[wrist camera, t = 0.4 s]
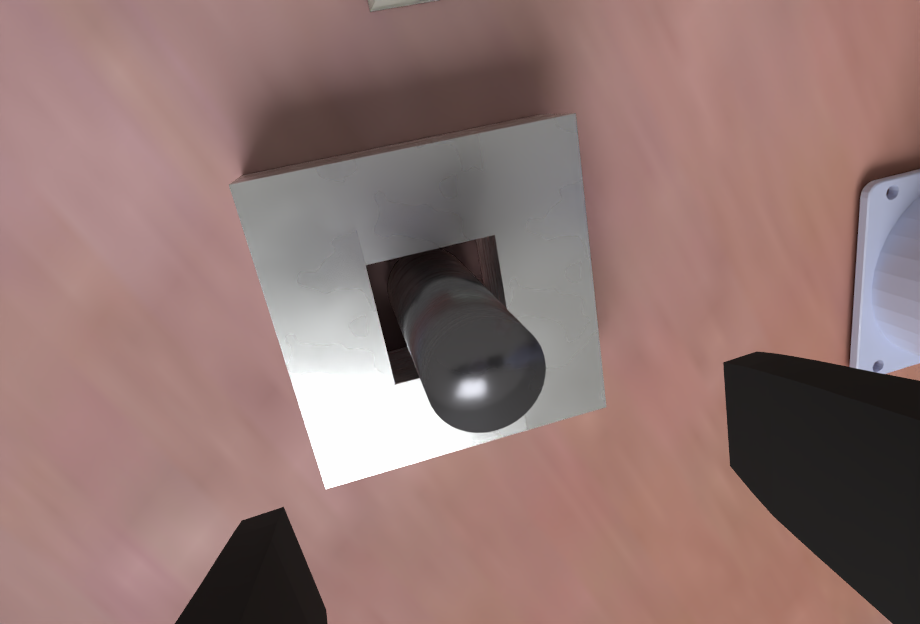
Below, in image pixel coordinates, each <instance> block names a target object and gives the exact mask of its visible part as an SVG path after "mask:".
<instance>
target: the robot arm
mask: <svg viewBox="0 0 920 624" xmlns="http://www.w3.org/2000/svg"><path fill="white" fill-rule="evenodd" d="M888 189H889V191H888V194H887V195H886V193H887V190H888ZM919 363H920V169H918V170H914V171H910V172H906V173H902V174H897V175H893V176H889V177H885V178H881V179H877V180H873V181H871V182H869V183H868V184H867V185H866V186H865V187H864V188H863V190H862V192H861V196H860V211H859V227H858V242H857V258H856V274H855V289H854V305H853V321H852V336H851V352H850V367H846V366H841V365H836V364H831V363H826V362H821V361H816V360H810V359H805V358H799V357H794V356H788V355H781V354H774V353H765V352H754V353H751V354H748V355H745V356H742V357H739V358H736V359H733V360H730V361H727V362H724V363H723V364H724V379H725V394H726V410H727V425H728V440H729V455H730V466H731V467H732V469H733V470H734V471H735V472H736V473H737V475H738V476H739V477H740V478H741V479H742V481H743V482H744V483H745V484H746V485H747V487H748V488H749V489H750V490H751V491H752V493H753V494H754V495H755V496H756V497H757V498H758V499H759V501H760V502H761V503H762V504H763V505H764V506H765V507H766V508H767V509H768V511H769V512H770V513H771V514H772V515H773V516H774V517H775V518H776V519H777V520H778V521H779V522H780V523H781V524H783V525H784V526H785V527H786V528H787V529H788V530H789V531H790V532H791V533H792V534H793V535H794V536H796V537H797V538H798V539H799V540H800V541H801V542H802V543H803V544H804V545H805V546H807V547H808V548H809V549H810V550H811V551H812V552H813V553H814V554H815V555H816V556H818V557H819V558H820V559H821V560H822V561H823V562H824V563H825V564H827V565H828V566H829V567H830V568H831V569H832V570H833V571H834V572H836V573H837V574H838V575H839V576H840V577H841V578H842V579H843V580H844V581H846V582H847V583H848V584H849V585H850V586H851V587H852V588H853V589H855V590H856V591H857V592H858V593H859V594H860V595H861V596H862V597H864V598H865V599H866V600H867V601H868V602H869V603H870V604H871V605H872V606H874V607H875V608H876V609H877V610H878V611H879V612H880V613H881V614H883V615H884V616H885V617H886V618H887V619H888V620H889V621H890V622H892V623H893V624H920V381H918V380H912V379H907V378H902V377H897V376H892V375H887V374H886V373H889V372H893V371H896V370H899V369H902V368H906V367H909V366H912V365H915V364H919ZM175 624H327V614H326V608H325V606H324V604H323V601H322V599H321V596H320V594H319V591H318V589H317V587H316V584H315V582H314V579H313V577H312V574H311V572H310V570H309V567H308V565H307V562H306V560H305V557H304V555H303V553H302V550H301V548H300V545H299V543H298V541H297V538H296V536H295V533H294V531H293V528H292V526H291V524H290V521H289V519H288V516H287V514H286V511H285V509H284V507H282V508H279V509H276V510H273V511H270V512H267V513H264V514H261V515H258V516H255V517H252V518H249V519H246V520H242V521H241V523H240V524H239V526H238V527H237V529H236V530H235V532H234V533H233V535H232V536H231V538H230V539H229V541H228V542H227V544H226V545H225V547H224V549H223V550H222V552H221V553H220V555H219V556H218V558H217V560H216V561H215V563H214V564H213V566H212V568H211V569H210V571H209V572H208V574H207V575H206V577H205V579H204V580H203V582H202V583H201V585H200V586H199V588H198V589H197V591H196V592H195V594H194V596H193V597H192V599H191V600H190V602H189V603H188V605H187V606H186V608H185V609H184V611H183V612H182V614H181V615H180V617H179V618H178V620H177V621H176V623H175Z"/></svg>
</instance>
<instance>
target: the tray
mask: <svg viewBox="0 0 920 624" xmlns="http://www.w3.org/2000/svg"><path fill="white" fill-rule="evenodd" d="M432 1H438V0H368V4H369V9H370V12H372V11H378V10H384V9H390V8H396V7H402V6H408V5H414V4H420V3H426V2H432Z"/></svg>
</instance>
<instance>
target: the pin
mask: <svg viewBox="0 0 920 624" xmlns="http://www.w3.org/2000/svg"><path fill="white" fill-rule="evenodd" d="M387 289H388V297H389V301H390V303H391V306H392V308H393V311H394V314H395V316H396V319H397V321H398V324H399V326H400V329H401V331H402V334H403V337H404V339H405V342H406V344H407V347H408V349H409V352H410V354H411V357H412V360H413V362H414V365H415V367H416V370H417V372H418V375H419V377H420V380H421V382H422V385H423V388H424V390H425V393H426V395H427V398H428V400H429V403H430V405H431V407H432V408H433V410H434V411H435V413H436V414H437V415H438V416H439V417H440V418H441V419H442V420H443V421H444V422H445V423H447V424H448V425H450V426H452V427H454V428H456V429H458V430H462V431H465V432H471V433H485V432H492V431H496V430H499V429H502V428H505V427H507V426H509V425H511V424H512V423H514V422H516V421H517V420H519V419H520V418H521V417H522V416H524V415H525V414H526V413H527V412H528V411H529V410H530V408H531V407H532V406H533V405H534V403H535V402H536V400H537V399H538V397H539V395H540V393H541V391H542V388H543V385H544V381H545V375H546V363H545V357H544V353H543V351H542V348H541V346H540V344H539V342H538V341H537V339H536V338H535V337H534V336H533V335H532V334H531V333H530V332H529V331H528V330H527V329H526V328H525V327H524V326H523V324H522V323H521V322H520V321H519V320H518V319H517V318H516V317H515V316H514V315H513V314H512V313H511V312H510V311H509V310H508V309H507V308H506V307H505V306H504V305H503V304H502V303H501V302H500V301H499V300H498V299H497V298H496V297H495V296H494V295H493V294H492V293H491V292H490V291H489V290H488V289H487V288H486V287H485V286H484V285H483V284H482V283H481V282H480V281H479V280H478V279H477V278H476V277H475V276H474V275H473V274H472V273H471V272H470V271H469V270H468V269H467V268H466V267H465V266H464V265H463V264H462V263H461V262H460V261H459V260H458V259H457V258H456V257H455V256H453V255H452V254H451V253H449V252H447V251H445V250H442V249H439V248H437V249H433V250H428V251H424V252H420V253H416V254H411V255H407V256H403V257H402V258H401V259H400V260H399V261H398V262H397V263H396V264H395V266H394V267H393V269H392V271H391V273H390V276H389V280H388V286H387Z"/></svg>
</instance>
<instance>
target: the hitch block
mask: <svg viewBox="0 0 920 624" xmlns="http://www.w3.org/2000/svg"><path fill="white" fill-rule="evenodd" d="M229 187H230V190H231V193H232V196H233V199H234V202H235V205H236V209H237V212H238V215H239V218H240V221H241V224H242V227H243V231H244V234H245V237H246V240H247V243H248V246H249V249H250V253H251V256H252V259H253V262H254V265H255V268H256V271H257V275H258V278H259V281H260V284H261V287H262V290H263V293H264V297H265V300H266V303H267V306H268V309H269V312H270V315H271V319H272V322H273V325H274V328H275V331H276V334H277V337H278V341H279V344H280V347H281V350H282V353H283V356H284V359H285V363H286V366H287V369H288V372H289V375H290V378H291V381H292V385H293V388H294V391H295V394H296V397H297V400H298V403H299V407H300V410H301V413H302V416H303V419H304V422H305V425H306V429H307V432H308V435H309V438H310V441H311V444H312V447H313V451H314V454H315V457H316V460H317V463H318V466H319V469H320V473H321V476H322V479H323V482H324V485H325V488H326V489H328V488H331V487H335V486H338V485H341V484H345V483H348V482H352V481H355V480H359V479H362V478H365V477H369V476H372V475H376V474H379V473H382V472H386V471H389V470H393V469H396V468H400V467H403V466H406V465H410V464H413V463H417V462H420V461H424V460H427V459H430V458H434V457H437V456H441V455H444V454H447V453H451V452H454V451H458V450H461V449H465V448H468V447H471V446H475V445H478V444H482V443H485V442H488V441H492V440H495V439H499V438H502V437H506V436H509V435H512V434H516V433H519V432H523V431H526V430H530V429H533V428H536V427H540V426H543V425H547V424H550V423H553V422H557V421H560V420H564V419H567V418H571V417H574V416H577V415H581V414H584V413H588V412H591V411H594V410H598V409H601V408H605V407H606V399H605V390H604V380H603V371H602V361H601V351H600V342H599V332H598V323H597V313H596V303H595V294H594V284H593V275H592V265H591V255H590V246H589V236H588V227H587V217H586V207H585V198H584V188H583V179H582V169H581V159H580V150H579V140H578V131H577V121H576V113H571V114H540V115H536V116H531V117H526V118H521V119H516V120H511V121H506V122H501V123H496V124H491V125H487V126H482V127H477V128H472V129H467V130H462V131H457V132H452V133H447V134H443V135H438V136H433V137H428V138H423V139H418V140H413V141H408V142H403V143H398V144H394V145H389V146H384V147H379V148H374V149H369V150H364V151H359V152H354V153H349V154H345V155H340V156H335V157H330V158H325V159H320V160H315V161H310V162H305V163H300V164H296V165H291V166H286V167H281V168H276V169H271V170H266V171H261V172H256V173H251V174H247V175H242V176H240V177H239V178H238V179H236V180H235V181H233V182H232V183H231V184H229ZM475 239H476V244H477V249H478V255H479V261H480V267H481V272H482V278H483V284H484V286H485V287H486V288H487V289H488V290H489V291H490V292H491V293H492V294H493V295H494V296H495V297H496V298H497V299H498V300H499V301H500V302H501V303H502V304H503V305H504V306H505V307H506V308H507V309H508V310H509V311H510V312H511V313H512V314H513V315H514V316H515V317H516V318H517V319H518V320H519V321H520V322H521V323H522V324H523V326H524V327H525V328H526V329H527V330H528V331H529V332H530V333H531V334H532V335H533V336H534V337H535V338H536V339H537V341H538V342H539V344H540V346H541V348H542V351H543V353H544V357H545V363H546V375H545V381H544V385H543V388H542V391H541V393H540V395H539V397H538V399H537V400H536V402H535V403H534V405H533V406H532V407H531V408H530V410H529V411H528V412H527V413H526V414H525V415H524V416H522V417H521V418H520V419H519V420H517V421H516V422H514V423H512V424H511V425H509V426H507V427H505V428H502V429H499V430H496V431H492V432H485V433H471V432H465V431H462V430H458V429H456V428H454V427H452V426H450V425H448V424H447V423H445V422H444V421H443V420H442V419H441V418H440V417H439V416H438V415H437V414H436V413H435V411H434V410H433V408H432V407H431V405H430V403H429V400H428V398H427V395H426V393H425V390H424V388H423V385H422V382H421V380H420V377H419V375H418V372H417V370H416V367H415V365H414V362H413V360H412V357H411V354H410V352H409V349H408V347H404V348H400V349H396V350H393V351H389V352H387V350H386V346H385V342H384V338H383V334H382V330H381V326H380V322H379V317H378V313H377V309H376V305H375V301H374V297H373V293H372V289H371V285H370V281H369V277H368V273H367V269H366V265H369V264H373V263H377V262H382V261H386V260H390V259H394V258H399V257H403V256H407V255H411V254H416V253H420V252H424V251H428V250H433V249H437V248H441V247H445V246H450V245H454V244H458V243H462V242H467V241H471V240H475Z"/></svg>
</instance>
